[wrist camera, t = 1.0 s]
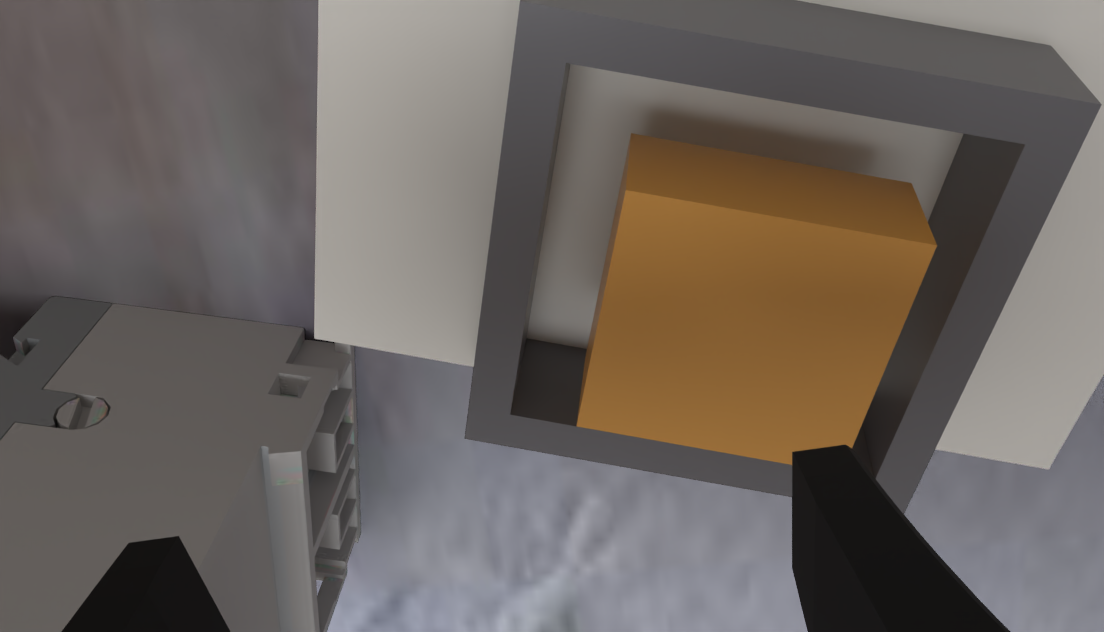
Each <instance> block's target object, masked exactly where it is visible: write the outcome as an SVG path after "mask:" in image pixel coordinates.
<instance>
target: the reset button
mask: <svg viewBox="0 0 1104 632" xmlns="http://www.w3.org/2000/svg"><path fill="white" fill-rule="evenodd" d="M936 247H937V244H936V241H935V239H934V237H933V234H932V232H931V229H930V227H929V224H928V222H927V219H926V217H925V215H924V212H923V210H922V207H921V205H920V202H919V200H918V197H917V195H916V193H915V190H914V188H913V185H912V183H909V182H903V181H897V180H892V179H886V178H880V177H875V176H869V175H864V174H858V173H852V172H847V171H841V170H835V169H830V168H824V167H819V166H813V165H807V164H802V163H796V162H790V161H785V160H779V159H774V158H768V157H762V156H757V155H751V154H745V153H740V152H734V151H729V150H723V149H717V148H712V147H706V146H700V145H695V144H689V143H683V142H678V141H672V140H667V139H661V138H655V137H650V136H644V135H638V134H633V133H631V136H630V141H629V146H628V151H627V156H626V161H625V165H624V170H623V175H622V180H621V185H620V190H619V195H618V200H617V204H616V209H615V214H614V219H613V224H612V229H611V234H610V239H609V244H608V248H607V253H606V258H605V263H604V268H603V273H602V278H601V283H600V288H599V292H598V297H597V302H596V307H595V312H594V317H593V322H592V327H591V332H590V336H589V341H588V346H587V351H586V356H585V363H584V371H583V379H582V387H581V394H580V402H579V410H578V418H577V427H583V428H588V429H594V430H599V431H605V432H611V433H616V434H622V435H627V436H633V437H639V438H644V439H650V440H655V441H661V442H667V443H672V444H678V445H683V446H689V447H695V448H700V449H706V450H711V451H717V452H723V453H728V454H734V455H739V456H745V457H751V458H756V459H762V460H767V461H773V462H778V463H784V464H790V465H792V452H795V451H802V450H809V449H817V448H824V447H831V446H838V445H847V446H849V447H850V448H852V447H853V445H854V442H855V440H856V437H857V435H858V433H859V430H860V428H861V426H862V423H863V421H864V418H865V416H866V414H867V411H868V409H869V406H870V404H871V402H872V399H873V397H874V395H875V392H876V390H877V387H878V385H879V383H880V380H881V378H882V376H883V373H884V371H885V368H886V366H887V364H888V361H889V359H890V356H891V354H892V352H893V349H894V347H895V345H896V342H897V340H898V337H899V335H900V333H901V330H902V328H903V326H904V323H905V321H906V318H907V316H908V314H909V311H910V309H911V307H912V304H913V302H914V299H915V297H916V295H917V292H918V290H919V287H920V285H921V283H922V280H923V278H924V276H925V273H926V271H927V268H928V266H929V264H930V261H931V259H932V257H933V254H934V252H935V249H936Z"/></svg>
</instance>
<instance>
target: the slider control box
mask: <svg viewBox="0 0 1104 632" xmlns="http://www.w3.org/2000/svg"><path fill="white" fill-rule="evenodd" d="M631 133H633V134H638V135H644V136H650V137H655V138H661V139H667V140H672V141H678V142H683V143H689V144H695V145H700V146H706V147H712V148H717V149H723V150H729V151H734V152H740V153H745V154H751V155H757V156H762V157H768V158H774V159H779V160H785V161H790V162H796V163H802V164H807V165H813V166H819V167H824V168H830V169H835V170H841V171H847V172H852V173H858V174H864V175H869V176H875V177H880V178H886V179H892V180H897V181H903V182H909V183H912V185H913V188H914V190H915V193H916V195H917V197H918V200H919V202H920V205H921V207H922V210H923V212H924V215H925V217H926V219H927V222H928V224H929V227H930V229H931V232H932V234H933V237H934V239H935V241H936V244H937V247H936V249H935V252H934V254H933V257H932V259H931V261H930V264H929V266H928V268H927V271H926V273H925V276H924V278H923V280H922V283H921V285H920V287H919V290H918V292H917V295H916V297H915V299H914V302H913V304H912V307H911V309H910V311H909V314H908V316H907V318H906V321H905V323H904V326H903V328H902V330H901V333H900V335H899V337H898V340H897V342H896V345H895V347H894V349H893V352H892V354H891V356H890V359H889V361H888V364H887V366H886V368H885V371H884V373H883V376H882V378H881V380H880V383H879V385H878V387H877V390H876V392H875V395H874V397H873V399H872V402H871V404H870V406H869V409H868V411H867V414H866V416H865V418H864V421H863V423H862V426H861V428H860V430H859V433H858V435H857V437H856V440H855V442H854V445H853V447H852V449H853V450H854V451H855V452H856V453H857V454H858V456H859V457H860V459H861V460H862V461H863V463H864V464H865V466H866V467H867V468H868V470H869V471H870V472H871V474H872V475H873V476H874V478H875V479H876V480H877V482H878V483H879V484H880V485H881V487H882V488H883V489H884V491H885V492H886V493H887V494H888V496H889V497H890V498H891V499H892V501H893V502H894V503H895V504H896V506H897V507H898V508H899V509H900V511H901V512H902V513H903V514H904V513H905V511H906V509H907V506H908V504H909V502H910V500H911V498H912V496H913V494H914V492H915V490H916V488H917V486H918V484H919V482H920V480H921V477H922V475H923V473H924V471H925V469H926V467H927V465H928V463H929V461H930V459H931V457H932V455H933V453H934V451H935V449H936V450H942V451H947V452H953V453H959V454H964V455H970V456H975V457H981V458H987V459H992V460H998V461H1003V462H1009V463H1015V464H1020V465H1026V466H1031V467H1037V468H1043V469H1048V470H1049V468H1050V466H1051V465H1052V463H1053V461H1054V460H1055V458H1056V456H1057V454H1058V453H1059V451H1060V449H1061V447H1062V446H1063V444H1064V442H1065V441H1066V439H1067V437H1068V435H1069V434H1070V432H1071V430H1072V428H1073V427H1074V425H1075V423H1076V422H1077V420H1078V418H1079V416H1080V415H1081V413H1082V411H1083V409H1084V408H1085V406H1086V404H1087V402H1088V401H1089V399H1090V397H1091V396H1092V394H1093V392H1094V390H1095V389H1096V387H1097V385H1098V383H1099V382H1100V380H1101V378H1102V377H1103V375H1104V0H319V9H318V86H317V163H316V240H315V317H314V339H320V340H325V341H331V342H337V343H342V344H348V345H353V346H359V347H365V348H370V349H376V350H381V351H387V352H393V353H398V354H404V355H409V356H415V357H421V358H426V359H432V360H438V361H443V362H449V363H454V364H460V365H466V366H471V367H474V368H473V376H472V384H471V392H470V399H469V407H468V415H467V423H466V431H465V439H470V440H475V441H481V442H487V443H492V444H498V445H503V446H509V447H515V448H520V449H526V450H531V451H537V452H542V453H548V454H554V455H559V456H565V457H570V458H576V459H582V460H587V461H593V462H598V463H604V464H610V465H615V466H621V467H626V468H632V469H638V470H643V471H649V472H654V473H660V474H666V475H671V476H677V477H682V478H688V479H694V480H699V481H705V482H710V483H716V484H722V485H727V486H733V487H738V488H744V489H750V490H755V491H761V492H766V493H772V494H777V495H783V496H789V497H792V465H790V464H784V463H778V462H773V461H767V460H762V459H756V458H751V457H745V456H739V455H734V454H728V453H723V452H717V451H711V450H706V449H700V448H695V447H689V446H683V445H678V444H672V443H667V442H661V441H655V440H650V439H644V438H639V437H633V436H627V435H622V434H616V433H611V432H605V431H599V430H594V429H588V428H583V427H577V418H578V410H579V402H580V394H581V387H582V379H583V371H584V363H585V356H586V351H587V346H588V341H589V336H590V332H591V327H592V322H593V317H594V312H595V307H596V302H597V297H598V292H599V288H600V283H601V278H602V273H603V268H604V263H605V258H606V253H607V248H608V244H609V239H610V234H611V229H612V224H613V219H614V214H615V209H616V204H617V200H618V195H619V190H620V185H621V180H622V175H623V170H624V165H625V161H626V156H627V151H628V146H629V141H630V136H631Z"/></svg>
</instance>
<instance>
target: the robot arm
mask: <svg viewBox="0 0 1104 632" xmlns="http://www.w3.org/2000/svg"><path fill="white" fill-rule="evenodd" d="M792 569H793V573H794V577H795V581H796V585H797V589H798V593H799V598H800V602H801V606H802V610H803V614H804V618H805V622H806V626H807V630H808V632H1010V631H1009V630H1008V629H1007V628H1006V627H1005V626H1004V625H1003V624H1002V623H1001V622H1000V621H999V620H998V619H997V618H996V617H995V616H994V615H993V614H992V613H991V612H990V611H989V610H988V608H987V607H986V606H985V605H984V604H983V603H982V602H981V601H980V600H979V599H978V598H977V597H976V596H975V595H974V594H973V593H972V591H971V590H970V589H969V588H968V587H967V586H966V585H965V584H964V583H963V582H962V581H961V579H960V578H959V577H958V576H957V575H956V574H955V573H954V572H953V571H952V570H951V568H950V567H949V566H948V565H947V564H946V563H945V562H944V561H943V560H942V559H941V558H940V556H939V555H938V554H937V553H936V552H935V551H934V550H933V548H932V547H931V546H930V545H929V544H928V543H927V542H926V540H925V539H924V538H923V537H922V536H921V535H920V533H919V532H918V531H917V530H916V529H915V527H914V526H913V525H912V524H911V523H910V521H909V520H908V519H907V518H906V517H905V515H904V514H903V513H902V512H901V511H900V509H899V508H898V507H897V506H896V504H895V503H894V502H893V501H892V499H891V498H890V497H889V496H888V494H887V493H886V492H885V491H884V489H883V488H882V487H881V485H880V484H879V483H878V482H877V480H876V479H875V478H874V476H873V475H872V474H871V472H870V471H869V470H868V468H867V467H866V466H865V464H864V463H863V461H862V460H861V459H860V457H859V456H858V454H857V453H856V452H855V451H854V450H853V449H852V448H850V447H849V446H847V445H838V446H831V447H824V448H817V449H809V450H802V451H795V452H792ZM61 632H230V630H229V628H228V626H227V624H226V622H225V620H224V619H223V617H222V615H221V613H220V611H219V609H218V607H217V606H216V604H215V602H214V600H213V598H212V596H211V595H210V593H209V591H208V589H207V587H206V585H205V583H204V582H203V580H202V578H201V576H200V574H199V572H198V570H197V569H196V567H195V565H194V563H193V561H192V559H191V557H190V556H189V554H188V552H187V550H186V548H185V546H184V545H183V543H182V541H181V539H180V537H179V536H174V537H167V538H160V539H153V540H145V541H138V542H131V543H128V544H127V546H126V547H125V548H124V549H123V551H122V552H121V553H120V555H119V556H118V557H117V558H116V560H115V561H114V562H113V564H112V565H111V566H110V568H109V569H108V570H107V572H106V573H105V574H104V576H103V577H102V578H101V580H100V581H99V582H98V584H97V585H96V586H95V587H94V589H93V590H92V591H91V593H90V594H89V595H88V597H87V598H86V599H85V601H84V602H83V603H82V605H81V606H80V607H79V609H78V610H77V611H76V613H75V614H74V615H73V617H72V618H71V619H70V621H69V622H68V623H67V625H66V626H65V627H64V629H63V630H62V631H61Z"/></svg>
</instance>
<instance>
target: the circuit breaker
mask: <svg viewBox="0 0 1104 632" xmlns="http://www.w3.org/2000/svg"><path fill="white" fill-rule="evenodd" d="M13 340H14V343H15V347H16V352H15V353H14V354H13V355H12V356H11V357H10V358H9V360H7V359H6V358H4V357H3V356H1V355H0V632H61V631H62V630H63V629H64V627H65V626H66V625H67V623H68V622H69V621H70V619H71V618H72V617H73V615H74V614H75V613H76V611H77V610H78V609H79V607H80V606H81V605H82V603H83V602H84V601H85V599H86V598H87V597H88V595H89V594H90V593H91V591H92V590H93V589H94V587H95V586H96V585H97V584H98V582H99V581H100V580H101V578H102V577H103V576H104V574H105V573H106V572H107V570H108V569H109V568H110V566H111V565H112V564H113V562H114V561H115V560H116V558H117V557H118V556H119V555H120V553H121V552H122V551H123V549H124V548H125V547H126V546H127V544H128V543H131V542H138V541H145V540H153V539H160V538H167V537H174V536H179V537H180V539H181V541H182V543H183V545H184V546H185V548H186V550H187V552H188V554H189V556H190V557H191V559H192V561H193V563H194V565H195V567H196V569H197V570H198V572H199V574H200V576H201V578H202V580H203V582H204V583H205V585H206V587H207V589H208V591H209V593H210V595H211V596H212V598H213V600H214V602H215V604H216V606H217V607H218V609H219V611H220V613H221V615H222V617H223V619H224V620H225V622H226V624H227V626H228V628H229V630H230V632H327V630H328V627H329V624H330V621H331V618H332V615H333V612H334V609H335V607H336V604H337V601H338V598H339V595H340V592H341V589H342V586H343V584H344V581H345V578H346V575H347V562H348V559H349V556H350V553H351V551H352V548H353V545H354V542H357V543H358V540H359V538H360V535H361V520H360V492H359V464H358V436H357V408H356V380H355V351H354V346H353V345H348V344H342V343H337V342H335V343H328V342H320V341H312V340H305V334H304V328H301V327H294V326H286V325H278V324H270V323H262V322H254V321H247V320H239V319H231V318H223V317H215V316H208V315H200V314H192V313H184V312H176V311H168V310H161V309H153V308H145V307H137V306H129V305H122V304H114V303H113V304H112V303H106V302H98V301H90V300H82V299H74V298H66V297H57V296H54V297H51V298H49V299H48V300H47V301H46V302H45V303H44V304H43V305H42V307H41V308H40V309H39V310H38V311H37V312H36V313H35V314H34V315H33V316H32V317H31V318H30V320H29V321H28V322H27V323H26V324H25V325H24V326H23V327H22V328H21V329H20V330H19V331H18V332H17V334H16V335H15V336H14V337H13ZM316 580H322V581H323V582H322V585H321V587H320V590H319V593H318V596H317V588H316Z"/></svg>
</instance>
